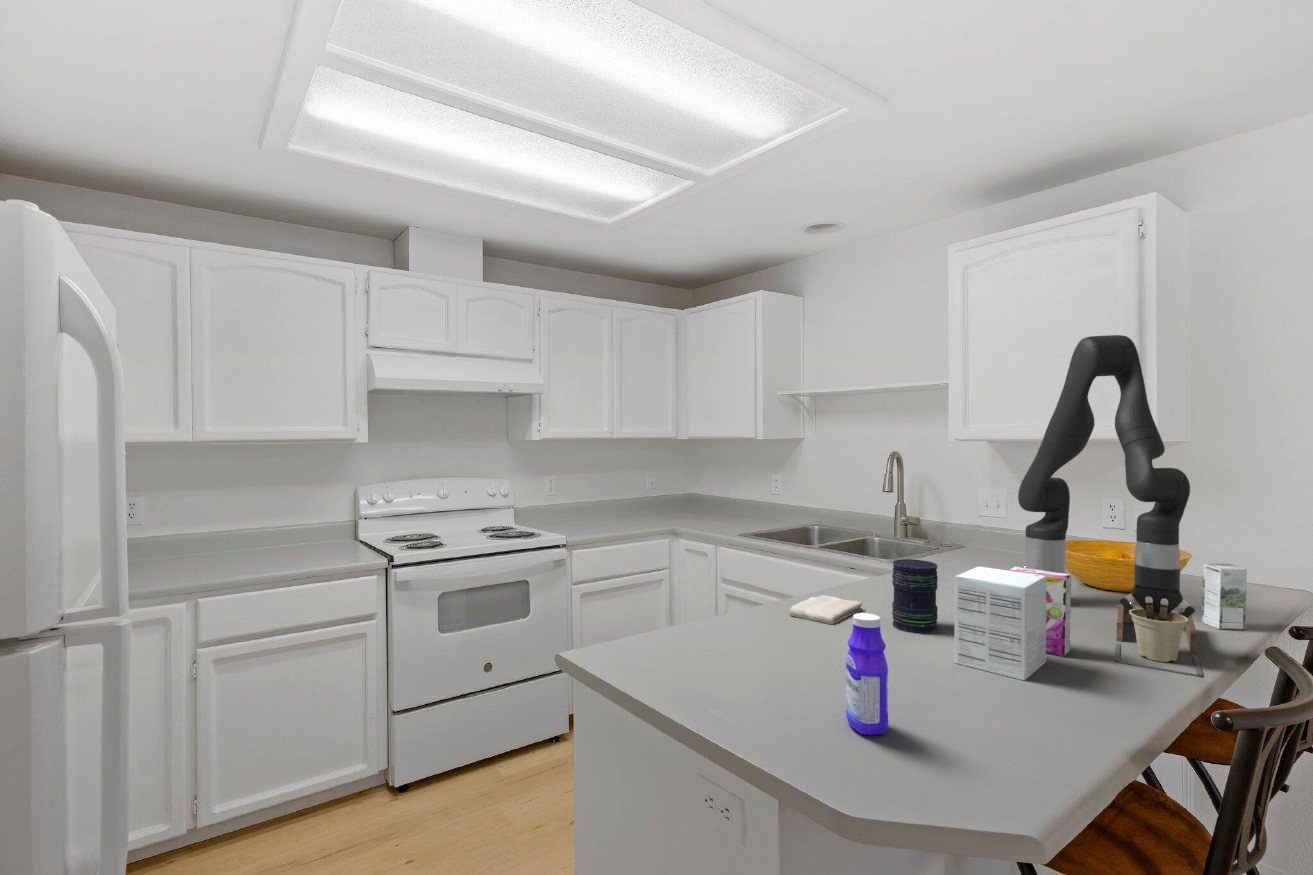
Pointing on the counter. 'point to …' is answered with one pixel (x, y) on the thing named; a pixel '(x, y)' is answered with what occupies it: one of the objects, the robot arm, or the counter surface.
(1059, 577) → the candy bar box
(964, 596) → the supplement box
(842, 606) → the washcloth
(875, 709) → the bottle
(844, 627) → the counter surface
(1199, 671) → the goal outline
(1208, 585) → the syrup box
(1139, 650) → the flower pot
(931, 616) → the storage jar
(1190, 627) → the brown wooden frame
